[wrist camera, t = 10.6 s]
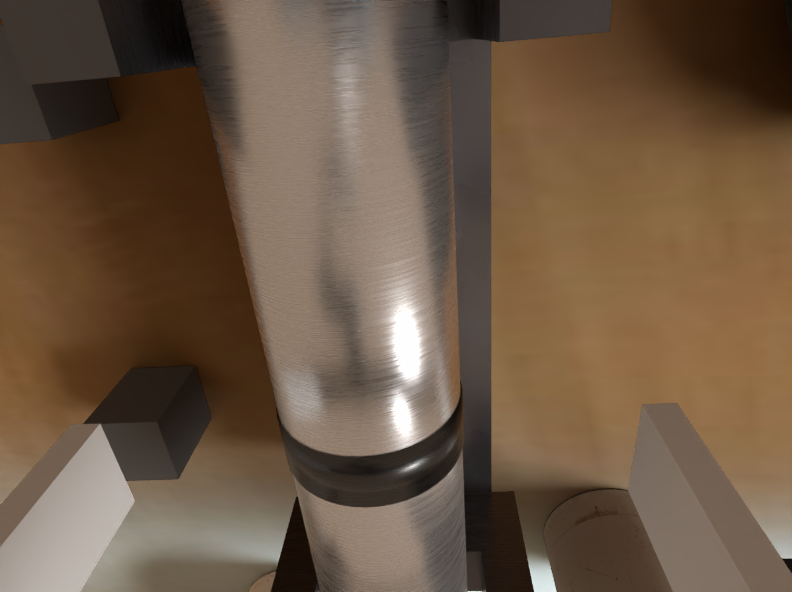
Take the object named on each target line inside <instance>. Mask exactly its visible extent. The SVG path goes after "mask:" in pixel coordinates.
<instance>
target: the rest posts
mask: <svg viewBox="0 0 792 592" xmlns="http://www.w3.org/2000/svg"><path fill="white" fill-rule="evenodd" d="M116 121H119V118H118V115H117V112H116V109H115V105H114V102H113V99H112V96H111V93H110V89H109V86H108V83H107V80H106V78H99V79H88V80H77V81H66V82H55V83H44V84H33V85H26V84H25V82H24V79H23V76H22V74H21V71H20V68H19V66H18V63H17V60H16V58H15V55H14V53H13V50H12V47H11V45H10V42H9V39H8V37H7V34H6V31H5V29H4V26H3V24H1V25H0V144H8V143H21V142H33V141H45V140H53V139H57V138H60V137H64V136H67V135H71V134H74V133H78V132H81V131H85V130H88V129H92V128H95V127H99V126H102V125H105V124H109V123H112V122H116ZM210 420H211V415H210V412H209V408H208V405H207V402H206V399H205V395H204V392H203V389H202V386H201V383H200V379H199V376H198V373H197V370H196V366H176V367H154V368H132V369H130V370H129V371H128V373H127V374H126V375H125V376H124V377H123V378H122V380H121V381H120V382H119V383H118V384H117V385H116V386H115V388H114V389H113V390H112V391H111V392H110V393H109V395H108V396H107V397H106V398H105V399H104V400H103V401H102V403H101V404H100V405H99V406H98V407H97V408H96V410H95V411H94V412H93V413H92V414H91V415H90V416H89V418H88V419H87V420H86V421H85V422H84V423H83V424H101V427H102V429H103V431H104V433H105V435H106V438H107V440H108V442H109V444H110V447H111V449H112V451H113V453H114V455H115V458H116V460H117V462H118V464H119V467H120V469H121V471H122V473H123V475H124V478H125V480H126V481H135V480H170V479H179V477H180V475H181V473H182V472H183V470H184V468H185V466H186V464H187V462H188V461H189V459H190V457H191V455H192V453H193V451H194V450H195V448H196V446H197V444H198V442H199V440H200V439H201V437H202V435H203V433H204V431H205V429H206V428H207V426H208V424H209V422H210Z"/></svg>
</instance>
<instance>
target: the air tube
mask: <svg viewBox="0 0 792 592" xmlns="http://www.w3.org/2000/svg"><path fill="white" fill-rule="evenodd" d="M181 1H182V6H183V10H184V14H185V18H186V23H187V27H188V31H189V35H190V40H191V44H192V48H193V52H194V57H195V61H196V65H197V69H198V74H199V78H200V82H201V86H202V91H203V95H204V99H205V103H206V108H207V112H208V116H209V120H210V125H211V129H212V133H213V137H214V142H215V146H216V150H217V154H218V159H219V163H220V167H221V171H222V176H223V180H224V184H225V188H226V193H227V197H228V201H229V205H230V210H231V214H232V218H233V222H234V227H235V231H236V235H237V239H238V244H239V248H240V252H241V257H242V261H243V265H244V269H245V274H246V278H247V282H248V286H249V291H250V295H251V299H252V303H253V308H254V312H255V316H256V320H257V325H258V329H259V333H260V337H261V342H262V346H263V350H264V354H265V359H266V363H267V367H268V371H269V376H270V380H271V384H272V388H273V393H274V397H275V401H276V405H277V409H276V410H277V418H278V422H279V427H280V431H281V435H282V439H283V443H284V448H285V452H286V456H287V460H288V464H289V467H290V470H291V472H292V474H293V478H294V482H295V486H296V490H297V495H298V499H299V503H300V507H301V512H302V516H303V520H304V524H305V529H306V533H307V537H308V541H309V546H310V550H311V554H312V558H313V563H314V567H315V571H316V575H317V580H318V584H319V588H320V592H467V567H466V537H465V508H464V478H463V443H464V425H463V394H462V384H461V380H460V360H459V330H458V301H457V271H456V241H455V212H454V182H453V153H452V123H451V93H450V64H449V34H448V5H447V0H181Z"/></svg>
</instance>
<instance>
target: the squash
mask: <svg viewBox="0 0 792 592" xmlns="http://www.w3.org/2000/svg"><path fill="white" fill-rule="evenodd" d="M784 5H785V12H786V20H787V26H788V29H789V32H790V35H791V38H792V0H784Z"/></svg>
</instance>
